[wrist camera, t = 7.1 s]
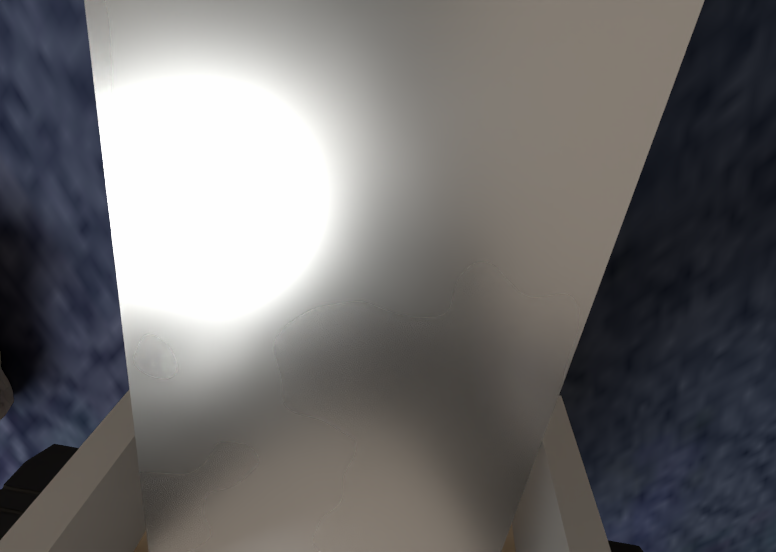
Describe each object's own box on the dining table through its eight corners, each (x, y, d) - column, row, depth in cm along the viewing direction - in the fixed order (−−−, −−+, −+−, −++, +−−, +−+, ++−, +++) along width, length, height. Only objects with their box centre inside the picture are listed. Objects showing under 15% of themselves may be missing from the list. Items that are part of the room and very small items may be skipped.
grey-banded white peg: (272, -413, 5) (-103, -1379, 2) (666, -358, 5) (1191, -1259, 1) (248, 629, 13) (178, 846, 10) (397, 656, 13) (382, 886, 10)
